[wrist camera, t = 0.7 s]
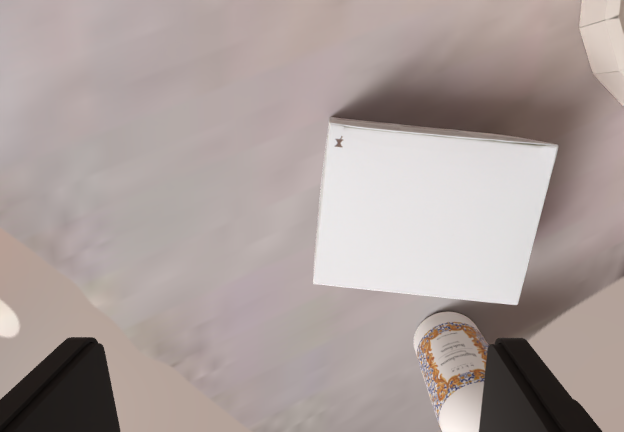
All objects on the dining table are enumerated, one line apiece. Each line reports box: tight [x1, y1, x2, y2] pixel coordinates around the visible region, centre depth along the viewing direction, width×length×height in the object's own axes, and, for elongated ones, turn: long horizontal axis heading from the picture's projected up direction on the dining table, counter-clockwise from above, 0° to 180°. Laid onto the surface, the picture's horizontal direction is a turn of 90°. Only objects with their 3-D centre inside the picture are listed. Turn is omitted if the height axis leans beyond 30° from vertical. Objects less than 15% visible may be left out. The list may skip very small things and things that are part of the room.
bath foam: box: [414, 312, 489, 432], centre depth 34 cm, size 7×7×20 cm
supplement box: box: [313, 117, 558, 305], centre depth 36 cm, size 17×13×9 cm
